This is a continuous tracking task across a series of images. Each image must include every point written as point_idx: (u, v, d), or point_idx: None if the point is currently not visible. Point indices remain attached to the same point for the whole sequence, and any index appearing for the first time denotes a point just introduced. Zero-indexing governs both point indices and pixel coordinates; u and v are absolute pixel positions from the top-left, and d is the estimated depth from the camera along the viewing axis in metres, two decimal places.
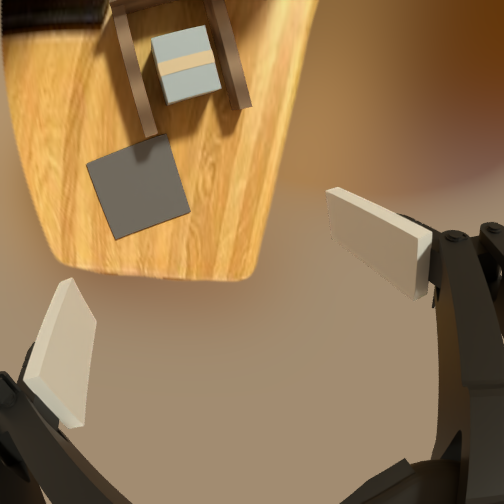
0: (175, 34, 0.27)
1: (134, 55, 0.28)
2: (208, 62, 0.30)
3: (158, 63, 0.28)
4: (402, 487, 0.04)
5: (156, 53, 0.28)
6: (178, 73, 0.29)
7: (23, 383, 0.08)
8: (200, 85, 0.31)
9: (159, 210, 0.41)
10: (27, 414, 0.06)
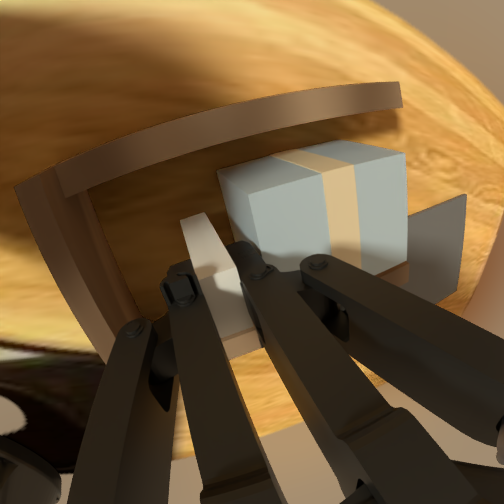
0: None
1: None
2: (352, 181, 0.13)
3: None
4: (402, 487, 0.04)
5: None
6: (364, 248, 0.15)
7: None
8: (393, 198, 0.14)
9: (454, 237, 0.25)
10: (201, 319, 0.09)
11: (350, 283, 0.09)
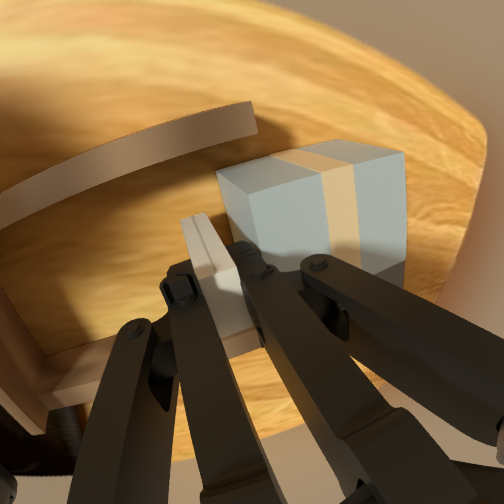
0: None
1: None
2: (351, 181, 0.13)
3: None
4: (402, 487, 0.04)
5: None
6: (363, 247, 0.15)
7: None
8: (392, 197, 0.14)
9: (390, 268, 0.24)
10: (200, 319, 0.09)
11: (350, 283, 0.09)
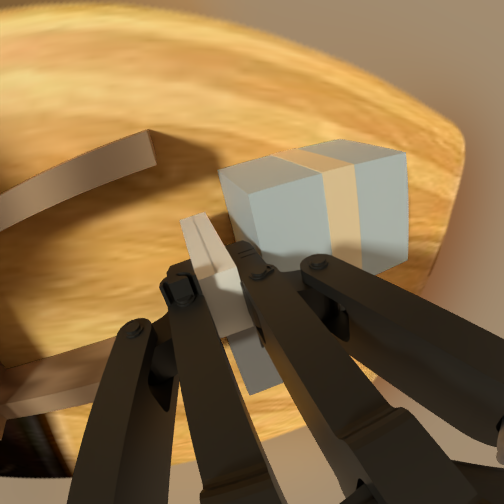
0: None
1: (68, 392, 0.15)
2: (352, 181, 0.13)
3: None
4: (402, 487, 0.04)
5: None
6: (364, 247, 0.15)
7: None
8: (394, 198, 0.14)
9: None
10: (200, 319, 0.09)
11: (350, 283, 0.09)
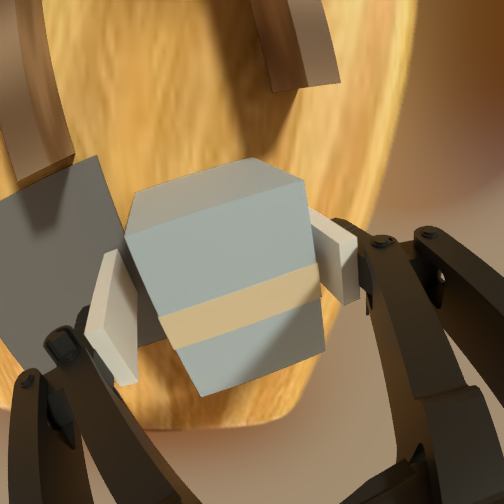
0: (207, 219, 0.10)
1: None
2: (304, 301, 0.12)
3: (161, 317, 0.11)
4: (402, 487, 0.04)
5: (150, 288, 0.10)
6: (222, 338, 0.12)
7: None
8: (279, 354, 0.13)
9: None
10: (86, 370, 0.08)
11: (452, 254, 0.08)
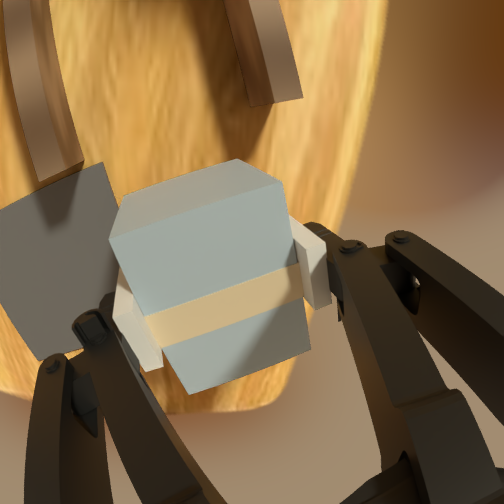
0: (187, 221, 0.10)
1: None
2: (286, 300, 0.12)
3: (146, 316, 0.11)
4: (402, 487, 0.04)
5: (135, 288, 0.10)
6: (207, 337, 0.12)
7: None
8: (264, 353, 0.13)
9: None
10: (114, 355, 0.08)
11: (426, 259, 0.09)
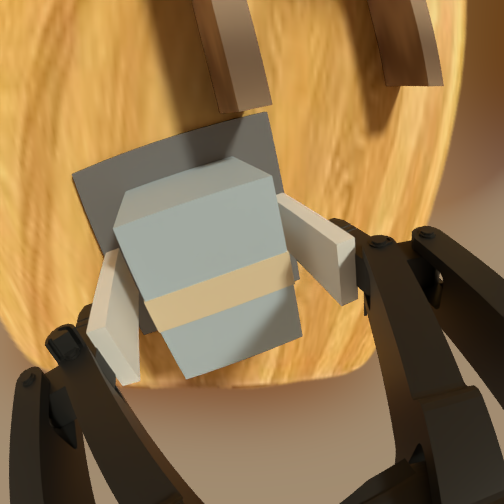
0: (185, 212, 0.11)
1: None
2: (277, 287, 0.13)
3: (147, 301, 0.12)
4: (402, 487, 0.04)
5: (136, 274, 0.11)
6: (203, 322, 0.13)
7: None
8: (258, 339, 0.14)
9: None
10: (88, 369, 0.08)
11: (450, 254, 0.08)
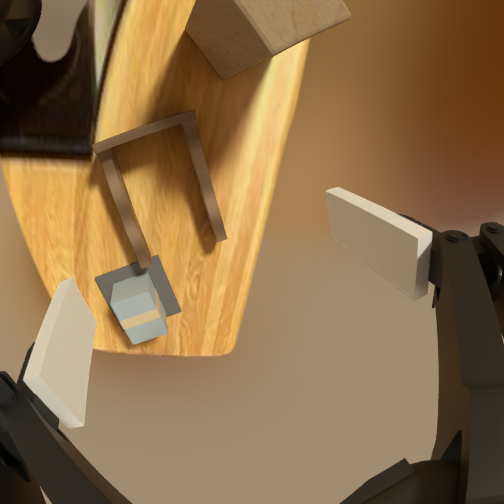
0: (127, 300, 0.42)
1: (124, 200, 0.39)
2: (155, 318, 0.44)
3: (120, 321, 0.43)
4: (402, 487, 0.04)
5: (116, 314, 0.42)
6: (135, 327, 0.44)
7: (23, 383, 0.08)
8: (153, 333, 0.45)
9: None
10: (27, 414, 0.06)
11: None
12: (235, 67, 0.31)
